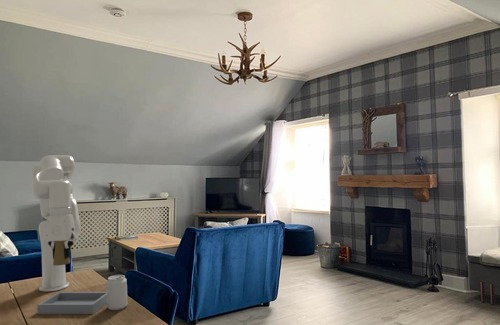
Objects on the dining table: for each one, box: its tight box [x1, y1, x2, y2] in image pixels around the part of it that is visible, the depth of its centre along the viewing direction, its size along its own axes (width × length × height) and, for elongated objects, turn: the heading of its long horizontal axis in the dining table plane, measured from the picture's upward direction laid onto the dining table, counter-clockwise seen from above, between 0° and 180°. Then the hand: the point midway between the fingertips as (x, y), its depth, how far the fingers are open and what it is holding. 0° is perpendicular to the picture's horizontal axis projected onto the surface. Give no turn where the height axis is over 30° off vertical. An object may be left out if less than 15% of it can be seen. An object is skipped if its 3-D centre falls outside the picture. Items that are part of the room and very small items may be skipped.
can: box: [105, 274, 128, 311], centre depth 148 cm, size 8×8×12 cm
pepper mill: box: [53, 241, 71, 266], centre depth 150 cm, size 6×6×11 cm
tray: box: [37, 291, 107, 315], centre depth 150 cm, size 22×14×4 cm, turn 85°
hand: (61, 257), depth 150 cm, fingers closed on pepper mill, 4 cm apart
